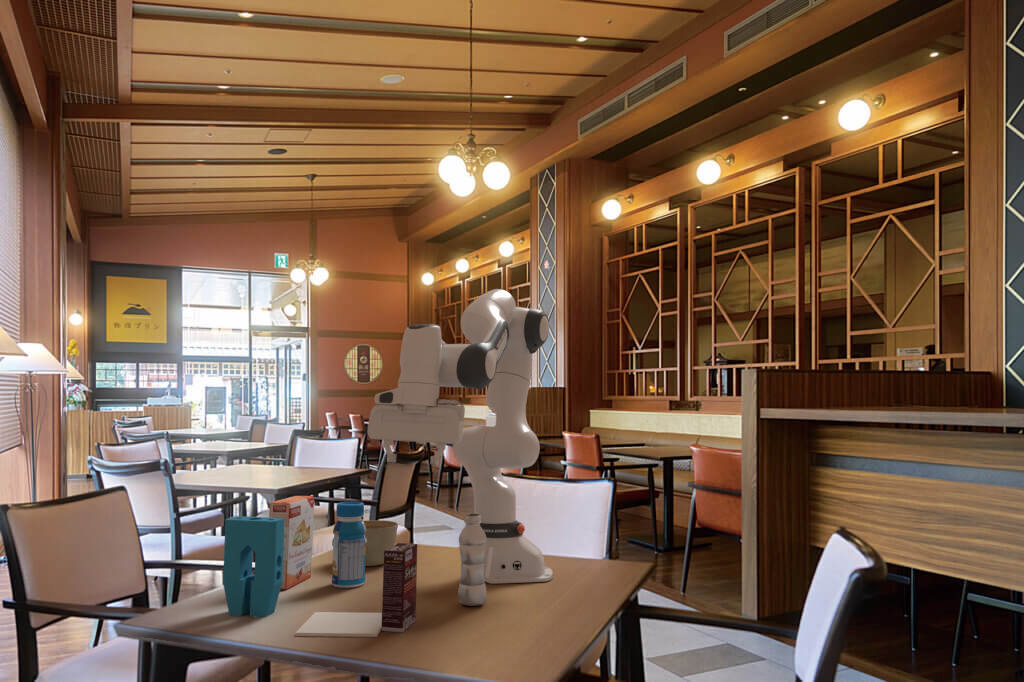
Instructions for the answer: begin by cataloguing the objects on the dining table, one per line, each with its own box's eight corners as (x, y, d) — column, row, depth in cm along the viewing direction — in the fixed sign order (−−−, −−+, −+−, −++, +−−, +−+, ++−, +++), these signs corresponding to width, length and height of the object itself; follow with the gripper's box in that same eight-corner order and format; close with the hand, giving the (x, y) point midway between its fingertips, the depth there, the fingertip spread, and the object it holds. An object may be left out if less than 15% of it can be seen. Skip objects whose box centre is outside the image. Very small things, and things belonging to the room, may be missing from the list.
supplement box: (403, 633, 145) (405, 551, 146) (380, 631, 146) (382, 550, 147) (417, 620, 154) (418, 543, 155) (395, 619, 154) (396, 542, 156)
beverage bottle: (349, 590, 177) (351, 506, 179) (323, 586, 181) (325, 503, 183) (372, 583, 184) (374, 502, 186) (347, 578, 189) (349, 500, 190)
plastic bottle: (465, 610, 161) (466, 518, 163) (453, 602, 167) (454, 513, 169) (491, 606, 164) (492, 516, 166) (478, 599, 170) (479, 511, 172)
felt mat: (389, 615, 157) (389, 612, 157) (377, 636, 143) (377, 633, 143) (315, 615, 157) (315, 612, 157) (295, 636, 143) (295, 632, 143)
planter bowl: (408, 560, 211) (408, 521, 212) (375, 572, 196) (376, 530, 197) (361, 555, 217) (362, 517, 218) (327, 566, 203) (328, 526, 204)
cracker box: (287, 590, 177) (290, 502, 178) (264, 589, 178) (267, 502, 179) (313, 577, 190) (315, 495, 192) (291, 575, 191) (294, 494, 193)
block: (283, 611, 159) (286, 518, 161) (271, 618, 155) (274, 521, 156) (233, 608, 162) (236, 516, 163) (220, 614, 157) (223, 519, 158)
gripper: (468, 401, 157) (464, 466, 155) (378, 396, 161) (372, 460, 159) (461, 399, 151) (457, 467, 149) (367, 394, 155) (362, 461, 153)
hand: (412, 463), depth 154 cm, fingers open, 8 cm apart
